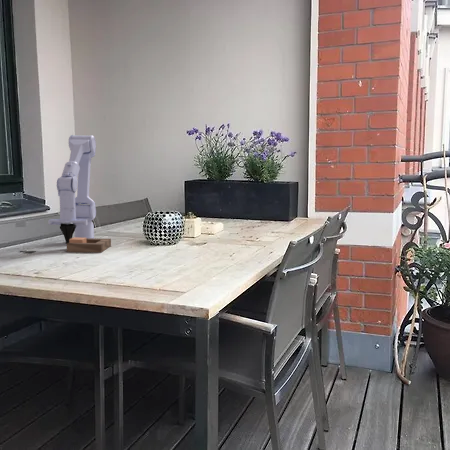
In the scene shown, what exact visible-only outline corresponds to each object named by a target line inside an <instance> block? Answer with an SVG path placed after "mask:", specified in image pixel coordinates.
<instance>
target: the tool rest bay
mask: <svg viewBox="0 0 450 450" xmlns="http://www.w3.org/2000/svg"><path fill="white" fill-rule="evenodd" d="M86 240H87V243H67V244H66V253H99V254H100V253H103V252H104V251H106V250H107V249H109V248H110V247H112V239H111V238H96V237H94V238H86Z"/></svg>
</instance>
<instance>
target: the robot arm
mask: <svg viewBox="0 0 450 450" xmlns="http://www.w3.org/2000/svg"><path fill="white" fill-rule="evenodd" d="M96 146H97V141H96V137H95V136H94V135H93V134H91V135H84V134H82V135H78V134H77V135H76V134H75V135H74V134H70V136H69V137H68V147H69V150H70V155H69V160H68V161H67V162H65V164H64V167H63V169H62V173H61V176H59V177H58V178H57V180H56V190H57V196H58V197H59V218H57V219H56V218H51V219H48V221H47V223H48V225H53V226H55V225H56V226H57V225H58V226H59V229H60V231H61V233H62V235H63V237H64V240H65V244H66V245H67V243H69V239H71V238H73V235H74V237H81V238H95V226H94V225H95V224H94V223H93V221H94V220H95V218H96V217H97V216H96V215H97V208H96V202H95V200H93V199H92V198H91V197H90V187H91V186H90V185H91V182H90V181H91V167H92V166H91V164H92V158H94V157H95V156H96V149H97V147H96ZM76 193H77V194H76Z"/></svg>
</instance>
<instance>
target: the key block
mask: <svg viewBox="0 0 450 450" xmlns="http://www.w3.org/2000/svg"><path fill="white" fill-rule="evenodd" d="M69 243H87V240H86V238H81V237H73V236H72V238H71V239H69Z"/></svg>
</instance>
